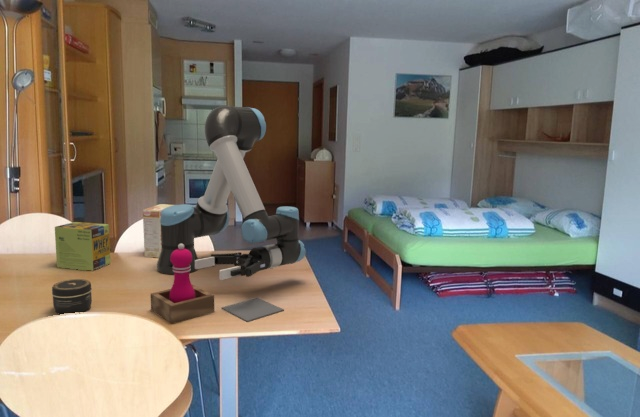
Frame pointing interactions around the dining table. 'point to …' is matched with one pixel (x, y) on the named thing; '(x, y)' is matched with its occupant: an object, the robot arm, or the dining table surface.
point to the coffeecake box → (153, 230)
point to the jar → (72, 296)
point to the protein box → (82, 245)
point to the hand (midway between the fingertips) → (207, 269)
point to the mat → (252, 309)
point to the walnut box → (182, 305)
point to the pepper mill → (181, 275)
